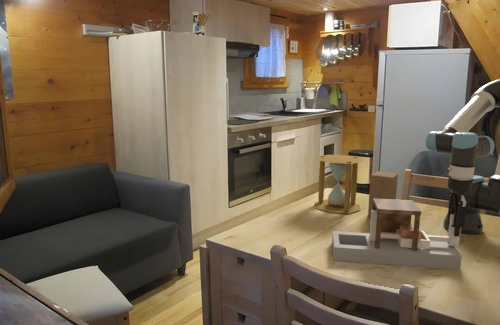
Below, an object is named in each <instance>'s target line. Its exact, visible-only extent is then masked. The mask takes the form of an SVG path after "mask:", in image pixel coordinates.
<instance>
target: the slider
mask: <svg viewBox="0 0 500 325" xmlns="http://www.w3.org/2000/svg"><path fill="white" fill-rule="evenodd" d="M376 221H377V210H371V217H370V225H369V226H370V227H369V233H370V237H369V239H370V241H375V235H376ZM453 224H454V214H450V223H449V230H448V231H449V232H447V233H448V234H447V235H433V234H427V233H426V232H425V231H424V230H421V239H418V246H417V248H422V249H430V241H438V242H447V244H448V245H449V246H454V247H455V248H457V247H458V245H455V244H450V240H451V232H452V227H451V225H453ZM380 238H391V239H397V241H398V243H399V245H400V247H407V248H412V243H413V239H407V238H403V237H402V235H401V233H400V229H396V233H387V232H381V234H380Z"/></svg>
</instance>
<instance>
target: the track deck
mask: <svg viewBox="0 0 500 325" xmlns="http://www.w3.org/2000/svg"><path fill="white" fill-rule="evenodd" d="M369 237H370V232H354V231H341V230H340V231H337V230H333V231H332V239H331V240H332V241H331V244H332V245H331V248H332V257H333V261H334V262H335V261H338V262H348V263H364V264H373V265H375V264H379V265H390V266H404V267H418V268H431V269H444V270H445V269H446V270H448V269H449V270H456V271H457V270H461V266H462V260H463V259H462V258H463V255H462V254H461V253H460V252H459V251H458V249H457V247H455V246H449V245H448V244H447V242H438V241H430V249H422V248H417V251H412V248H407V247H400V245H399V243H398V241H397V239H391V238H380V248H379V249H377V248H375V241H370V239H369Z"/></svg>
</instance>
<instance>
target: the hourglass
mask: <svg viewBox="0 0 500 325" xmlns="http://www.w3.org/2000/svg"><path fill="white" fill-rule="evenodd" d="M315 161H319V169H318V170H319V172H318V196H317V197H318V201H315V202H314V209H318V210H322V211H325V212H328V213H334V214H335V213H339V214H349V215H350V214H352V213H354V212H355V213H356V212H358V211H361V206H360V204H359V203H356V201H357V200H356V199H357V187H358V169H359V168H358V166H359V163H363V162H364V161H363V158H362V157H359V156H352V155H345V154H344V155H342V154H326V155H325V154H324V155H318V156H316V158H315ZM326 163H329V169H330V171H331V173H332V174H333V177H334V179H335V180H336V184H334V185H335V186H334V187H333V188H332V190H331V191H330V193H329V194H328V196H327V199H324V195H325V178H326V177H325V175H326V172H325V171H326ZM344 175H345V180H344V181H345V182H344V190H343V188H342V186H341V184H340V181H341V180H342V179H343V177H344Z"/></svg>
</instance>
